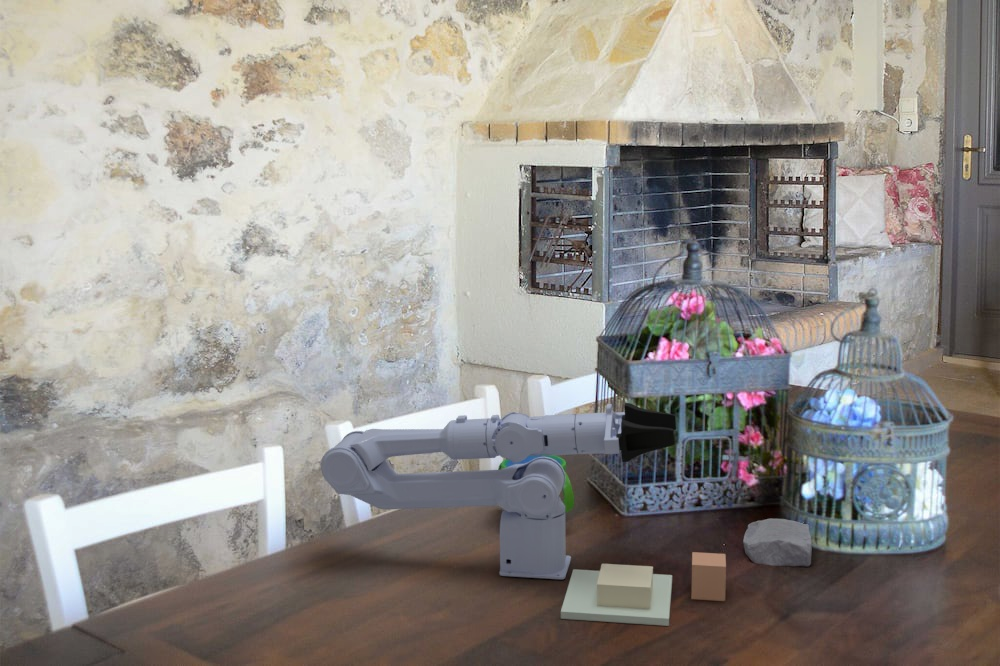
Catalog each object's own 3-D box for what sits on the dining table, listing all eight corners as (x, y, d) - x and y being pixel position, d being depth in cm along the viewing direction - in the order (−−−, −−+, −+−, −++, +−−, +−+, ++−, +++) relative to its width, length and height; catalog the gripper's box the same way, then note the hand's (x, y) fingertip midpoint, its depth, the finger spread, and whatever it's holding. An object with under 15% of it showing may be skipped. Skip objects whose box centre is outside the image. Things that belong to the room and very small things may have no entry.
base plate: (560, 618, 142) (560, 589, 141) (573, 575, 156) (573, 549, 155) (668, 625, 140) (669, 596, 139) (672, 581, 153) (672, 555, 152)
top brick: (691, 599, 147) (692, 564, 147) (691, 585, 152) (692, 552, 151) (725, 601, 147) (726, 566, 146) (724, 587, 151) (725, 554, 150)
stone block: (747, 576, 159) (817, 568, 157) (741, 545, 159) (811, 536, 156) (746, 549, 171) (811, 541, 168) (741, 520, 170) (806, 511, 168)
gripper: (569, 420, 146) (671, 414, 143) (581, 394, 160) (674, 389, 157) (573, 470, 147) (675, 466, 144) (585, 440, 161) (677, 436, 158)
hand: (675, 429), depth 151 cm, fingers open, 7 cm apart
